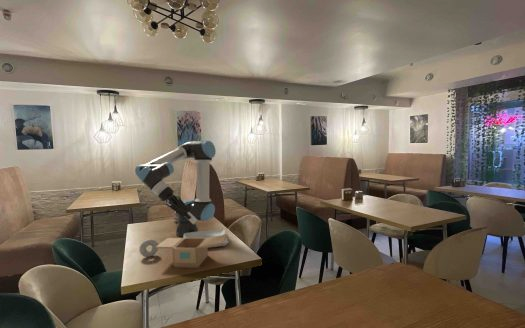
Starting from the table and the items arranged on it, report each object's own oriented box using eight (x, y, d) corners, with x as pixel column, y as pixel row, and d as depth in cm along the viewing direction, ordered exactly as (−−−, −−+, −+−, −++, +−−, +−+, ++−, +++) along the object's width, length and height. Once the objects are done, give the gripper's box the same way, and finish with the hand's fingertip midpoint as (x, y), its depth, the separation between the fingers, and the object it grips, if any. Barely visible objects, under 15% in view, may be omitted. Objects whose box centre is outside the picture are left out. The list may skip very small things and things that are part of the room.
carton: (169, 255, 151) (168, 237, 151) (207, 255, 149) (206, 237, 148) (155, 267, 136) (153, 248, 135) (197, 268, 133) (196, 248, 132)
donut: (140, 260, 146) (139, 242, 145) (139, 258, 149) (138, 240, 148) (159, 255, 151) (158, 238, 151) (158, 253, 154) (157, 236, 154)
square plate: (184, 238, 181) (183, 232, 180) (224, 233, 187) (224, 228, 187) (181, 253, 154) (181, 246, 154) (229, 247, 160) (229, 241, 160)
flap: (227, 233, 146) (228, 235, 146) (206, 238, 147) (207, 239, 147) (221, 242, 133) (222, 244, 133) (198, 247, 134) (199, 248, 134)
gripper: (164, 194, 148) (195, 223, 147) (152, 198, 135) (186, 231, 135) (173, 184, 147) (204, 214, 147) (162, 188, 134) (196, 220, 134)
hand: (195, 222), depth 141 cm, fingers closed
